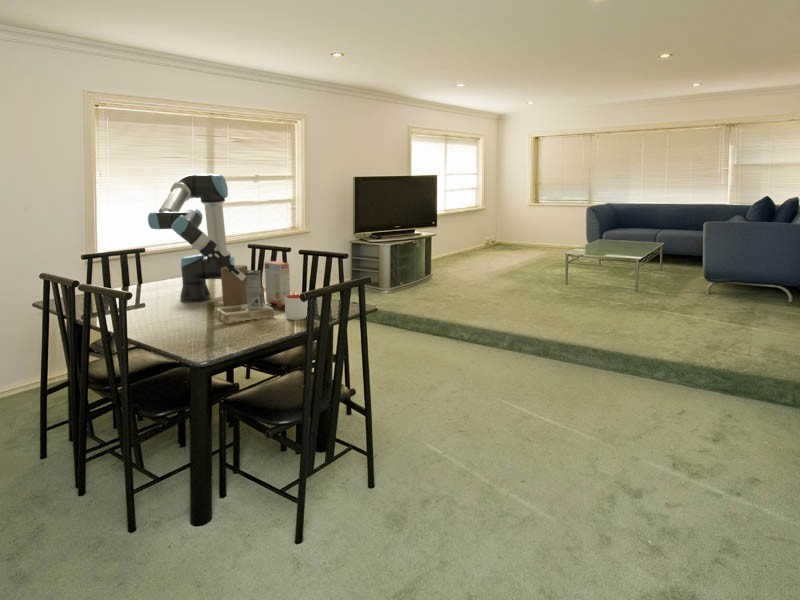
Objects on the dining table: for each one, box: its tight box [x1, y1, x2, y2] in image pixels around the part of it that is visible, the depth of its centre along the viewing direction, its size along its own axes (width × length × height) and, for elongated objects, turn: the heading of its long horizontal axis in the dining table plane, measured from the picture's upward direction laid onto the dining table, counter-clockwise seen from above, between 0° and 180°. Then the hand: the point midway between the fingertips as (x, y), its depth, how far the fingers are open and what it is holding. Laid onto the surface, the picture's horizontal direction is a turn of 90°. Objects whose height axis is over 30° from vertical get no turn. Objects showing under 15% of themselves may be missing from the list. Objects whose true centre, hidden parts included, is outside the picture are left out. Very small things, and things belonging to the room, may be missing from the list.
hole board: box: [214, 302, 275, 324], centre depth 268 cm, size 17×22×4 cm
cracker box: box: [264, 260, 291, 306], centre depth 295 cm, size 14×6×21 cm, turn 45°
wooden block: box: [220, 264, 249, 307], centre depth 289 cm, size 10×10×20 cm
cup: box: [284, 293, 308, 321], centre depth 264 cm, size 10×10×10 cm
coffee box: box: [245, 269, 264, 308], centre depth 269 cm, size 9×6×16 cm
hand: (241, 276), depth 265 cm, fingers open, 13 cm apart
